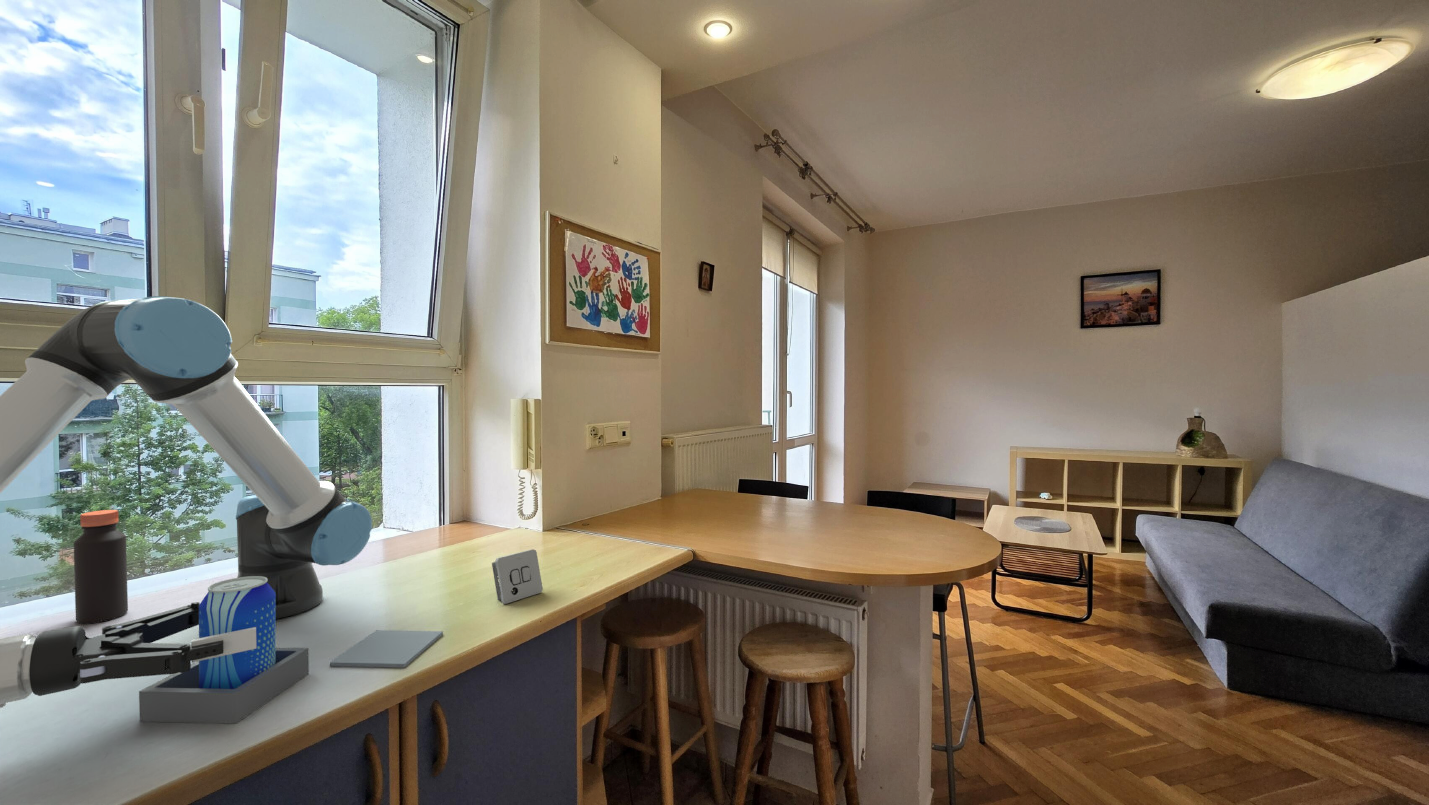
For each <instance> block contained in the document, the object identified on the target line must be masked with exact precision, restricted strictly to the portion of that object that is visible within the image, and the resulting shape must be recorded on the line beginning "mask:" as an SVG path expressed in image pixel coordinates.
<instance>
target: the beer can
mask: <svg viewBox="0 0 1429 805" xmlns="http://www.w3.org/2000/svg"><path fill="white" fill-rule="evenodd" d="M267 581H268V579H267V578H266V577H262V576H249V577H240V578H237V577H234V578H233V577H232V578H229V579H224V580H221V581H218V582H215V583H212V584H211V585H209V586H208V587H207V593H206V594H205V595H204V597H203V599H202V600H201V602H200V605H199V625H198V638H203V637H208V636H213V635H218V634H223V633H228V632H233V631H238V630H243V629H248V628H253V627H256V649H252V650H247V651H243V652H238V653H233V654H229V655H224V656H220V657H215V658H211V659H206V660H201V661H199V688H203V689H236V688H237V687H239V686H241V685H242V684H244V683H246V682H247V681H249V680H250V679H252V678H254V677H255V676H257V675H259V674H260V673H262V672H264V671H265V670H267V669H268V668H270V667H272V666H273V665H275V664H276V648H277V647H276V645H277V644H276V640H277V639H276V637H277V636H276V635H277V634H276V633H277V632H276V630H277V629H276V628H277V627H276V624H277V623H276V620H277V619H276V594H275V591H274V590H273V589H272V588H271V586H270V585H269V584H268V583H267Z"/></svg>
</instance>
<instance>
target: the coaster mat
mask: <svg viewBox="0 0 1429 805" xmlns="http://www.w3.org/2000/svg"><path fill="white" fill-rule="evenodd" d="M442 636H444V631H441V630H439V631H438V630H390V629H387V630H386V629H382V630H380V629H377V630H374V631H372V633H370V634H368V635H367V636H365V637H364V638H362V640H360V641H359V642H357V643H356V644H354V645H353V646H351V647H350V648H348V649H346V651H344V652H343V653H341V654H340V655H338V656H337V657H336V658H334V659H332V660H331V661H330V662H329V667H348V668H349V667H355V668H357V667H358V668H406V667H408V665H409V664H411V663H412V662H413V661H414V660H415V659H417V658H418V657H420V655H421V654H423V653H424V652H425V650H427V649H428V648H429V647H430V646H432V645H433V644H434V643H436V642H437V640H439V639H440V638H441V637H442Z"/></svg>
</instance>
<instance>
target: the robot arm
mask: <svg viewBox="0 0 1429 805" xmlns="http://www.w3.org/2000/svg"><path fill="white" fill-rule="evenodd" d="M232 339H233V338H232V334H231V332H230V330H229V327H228V326H227V324H226V323H225V322H224V320H223V319H222V318H221V317H220V316H219V315H218V314H217V313H216V312H214V310H213V309H211V308H209V307H207V306H205V305H203V304H202V303H200V302H196V301H194V300H191V299H187V298H182V297H173V296H163V295H162V296H161V295H159V296H158V295H157V296H155V295H154V296H147V297H143V298H133V299H115V300H107V301H101V302H98V303H96V304H93V305H91V306H88V307H87V308H85V309H82V310H81V311H80V312H78V313H77V314H75V315H74V316H73V317H71V318H70V319H69V320H68V321H67V322H65V323H64V324H63V325H62V326H61V327H60V328H59V329H57V330H56V331H55V332H54V333H53V334H52V335H51V336H50V337H48V338H47V340H45V341H44V343H42V344H41V345H40V346H39V347H37V348H36V350H34V351H33V352H32V353H31V354H29V356H28V357H27V358H26V359H25V360H24V363H25V367H26V368H25V369H26V371H25V372H24V373H23V374H22V375H21V376H20V377H19V378H18V379H17V380H16V381H14V382H13V383H12V384H11V385H10V386H9V387H8V388H7V389H6V390H5V391H4V392H3V393H2V394H1V395H0V494H1V493H2V492H3V491H4V490H5V489H6V488H7V487H8V486H9V485H10V484H11V483H12V482H13V481H14V480H15V479H16V478H17V476H18V475H20V474H21V472H23V471H24V470H25V469H26V468H27V466H29V464H30V463H31V462H32V461H33V460H34V459H36V458H37V457H38V455H39V454H41V453H42V451H43V450H44V449H45V448H46V447H47V446H48V445H50V443H51V442H52V441H53V440H54V439H55V438H56V437H58V435H59V434H60V433H61V432H62V431H63V430H64V429H65V428H67V426H68V425H69V424H70V423H71V422H72V421H73V420H74V419H75V418H76V417H77V416H78V415H79V414H80V413H81V412H82V411H83V409H84V408H86V407H87V405H89V403H90V402H93V401H97V400H104V399H106V398H107V397H108V396H109V395H110V394H111V393H112V392H113V391H114V390H115V389H116V388H117V387H119V386H120V385H122V384H124V383H125V382H126V381H128V380H130V379H132V380H133V381H134V382H135V383H136V384H137V385H138V386H139V387H140V388H141V390H142V391H143V392H144V393H145V394H146V395H147V396H148V397H149V398H150V399H151V400H152V401H153V402H154V403H160V404H169V405H172V406H174V407H175V408H176V410H178V412H179V413H180V414H181V415H182V416H183V417H184V418H185V419H186V421H188V423H190V425H191V426H192V427H193V428H194V429H195V430H196V431H197V433H198V434H199V435H200V436H201V437H202V438H203V439H204V440H205V441H206V443H207V444H208V445H209V446H210V447H211V448H212V450H214V452H215V453H216V454H218V456H219V457H220V459H222V460H223V461H224V463H225V464H226V465H227V466H228V467H229V468H230V469H231V470H232V472H234V473H235V475H236V476H237V477H238V478H239V479H240V480H241V481H242V482H243V484H244V485H246V487H247V488H248V489H249V490H250V491H251V492H252V493H253V494H252V495H249V496H245V497H242V498H241V499H240V500H238V502H237V505H236V507H237V508H236V515H235V521H236V537H237V542H236V543H237V577H236V578H240V577H249V576H262V577H266V578H267V579H268V581H267V583H268V584H269V585H270V586H271V588H272V589H273V590H274V591H275V594H276V620H278V619H282V618H287V617H291V616H294V615H298V614H301V613H304V612H305V611H309V610H311V609H313V608H315V607H317V606H318V605H320V604H321V603H322V602H323V599H324V596H323V595H324V593H323V592H324V591H323V586H322V585H321V584H320V580H319V578H318V576H317V573H316V571H315V568H314V565H313V564H317V565H319V566H340V565H344V564H347V563H349V562H351V561H352V560H354V559H355V558H357V556H358V555H359V554H361V552H362V551H363V550H364V549H365V547H366V545H367V544H368V542H369V540H370V538H371V532H372V529H373V519H372V515H371V513H370V511H369V509H367V507H365V506H364V505H363V504H360V503H358V502H357V501H348V500H347V499H346V498H345V497H344V496H343V495H342V493H341V492H340V491H339V490H338V488H337V487H336V486H335V485H334V484H333V483H332V482H331V481H328V480H318V478H317V477H316V476H315V475H314V474H313V472H312V471H311V470H310V469H309V468H308V466H307V465H306V464H305V462H304V461H303V460H302V459H301V457H300V456H299V455H298V454H297V452H296V451H295V450H294V448H292V446H291V445H290V444H289V443H288V441H287V440H286V438H285V437H284V436H283V435H282V434H281V433H280V431H279V430H278V429H277V427H276V426H275V425H274V424H273V423H272V421H271V420H270V418H268V416H267V415H266V414H265V413H264V412H263V410H262V409H261V408H260V406H259V405H258V403H257V402H255V400H254V399H253V398H252V396H251V395H250V393H248V391H247V390H246V389H245V387H244V386H243V385H242V384H241V383H240V380H238V379H237V378H236V377H235V376H236V371H237V368H238V366H239V363H238V361H237V360H236V358H235V356H233V354H232V348H231V344H232V343H233V340H232ZM200 603H201V602H198V601H195V602H191V603H190V604H187V605H184V606H181V607H177V608H172V609H169V610H166V611H163V612H159V613H155V614H152V615H151V614H150V615H148V616H144V617H141V618H138V619H137V618H136V619H133V620H130V621H126V622H122V623H116V624H111V625H106V626H104V627H102V628H101V635H97V636H94V637H87V636H86V629H85V628H84V627H83V626H81V625H74V626H67V627H63V628H57V629H52V630H45V631H43V632H41V633H39V634H37V636H36V637H35V635H34V634H31V633H27V634H25V633H24V634H21V635H15V636H10V637H4V638H3V637H2V638H0V709H2V708H4V707H5V706H6V704H8V703H12V702H16V701H17V702H18V701H21V700H25V699H27V698H28V697H29V696H31V694H32V693H33V694H34V695H35V696H38V697H42V696H46V695H51V694H56V693H59V692H60V693H61V692H65V691H70V690H74V689H76V688H78V687H79V686H81V684H82V685H83V684H89V683H93V682H94V683H95V682H100V681H104V680H115V679H128V678H130V679H131V678H137V677H138V678H140V677H151V676H164V675H165V676H166V675H172V674H176V673H179V672H180V673H183V672H187V671H189V670H190V669H191V663H195V662H197V661H201V660H206V659H211V658H215V657H220V656H224V655H229V654H233V653H238V652H243V651H247V650H252V649H256V627H253V628H248V629H243V630H238V631H233V632H228V633H223V634H218V635H213V636H208V637H203V638H199V637H197V638H193V639H191V640H190V641H191V642H190V643H167V642H166V643H165V642H164V643H163V642H158V643H157V641H160V640H162V639H165V638H168V637H170V636H172V635H173V636H174V635H175V634H178V633H180V632H183V631H186V630H188V629H191V628H194V627H197V626H199V605H200Z"/></svg>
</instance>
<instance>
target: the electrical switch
mask: <svg viewBox="0 0 1429 805" xmlns="http://www.w3.org/2000/svg"><path fill="white" fill-rule="evenodd" d="M491 566H492V572H493V579H494V580H493V581H494V584H495V591H496V592H495V593H496V598H497V601H501V603H502V604H503V605H506V604H510V603H514V602H517V601H518V600H522V599H525V598H528V597H531V596H534V595H538V594H540V593H542V592H543V590H544V587H543V582H542V576H541V572H540V571H541V570H540V564H539V559H538V552H537V550H536V549H534V548H533V549H532V548H531V549H527V550H524V551H519V552H516V553H511V554H507V555H504V556H499V557H497V558H496V559H495V561H494V562H491Z"/></svg>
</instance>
